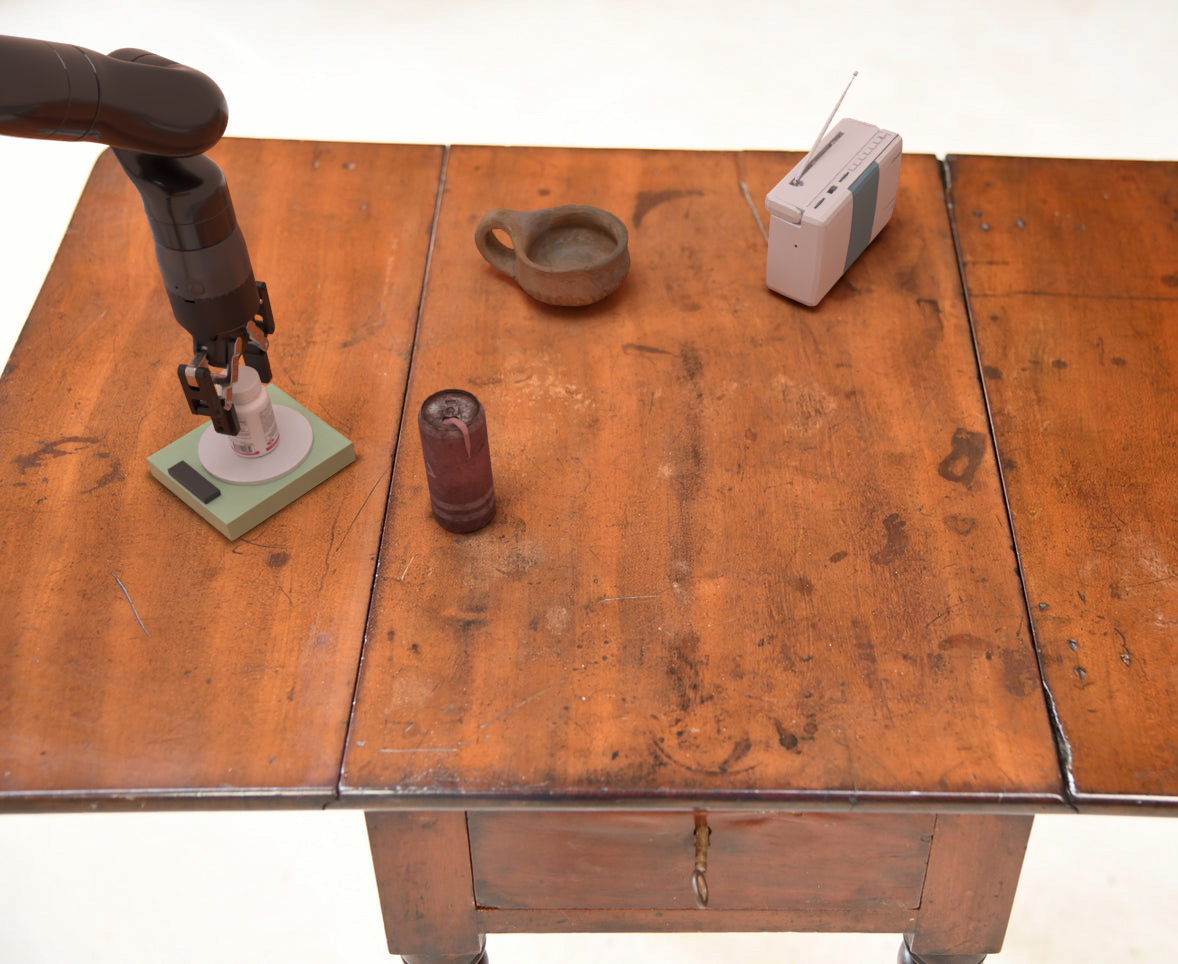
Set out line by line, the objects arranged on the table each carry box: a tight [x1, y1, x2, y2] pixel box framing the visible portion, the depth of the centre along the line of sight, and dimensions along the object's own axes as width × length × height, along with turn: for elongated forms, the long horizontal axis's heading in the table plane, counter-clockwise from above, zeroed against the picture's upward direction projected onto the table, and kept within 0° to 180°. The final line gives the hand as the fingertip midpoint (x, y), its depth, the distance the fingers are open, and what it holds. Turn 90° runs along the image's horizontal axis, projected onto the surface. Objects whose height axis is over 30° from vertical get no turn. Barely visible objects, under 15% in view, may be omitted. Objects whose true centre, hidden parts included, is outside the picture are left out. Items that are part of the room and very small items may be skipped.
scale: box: [145, 382, 357, 542], centre depth 139 cm, size 15×13×3 cm
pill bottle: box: [215, 365, 279, 458], centre depth 135 cm, size 5×5×8 cm
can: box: [417, 388, 497, 534], centre depth 132 cm, size 6×6×14 cm
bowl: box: [474, 203, 631, 307], centre depth 158 cm, size 18×14×10 cm
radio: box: [764, 70, 904, 307], centre depth 160 cm, size 21×8×20 cm, turn 150°
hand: (245, 405), depth 135 cm, fingers open, 7 cm apart
